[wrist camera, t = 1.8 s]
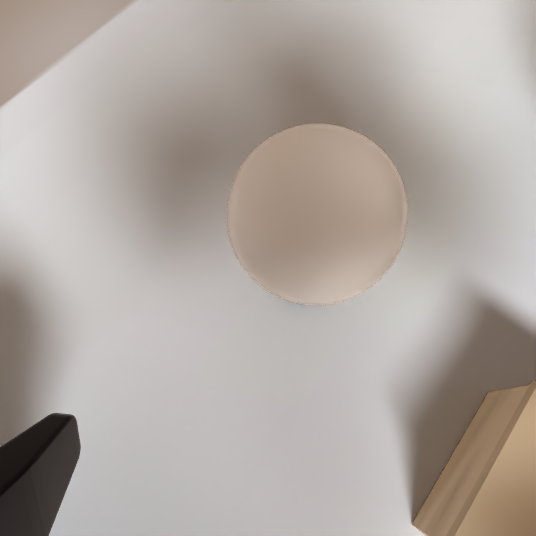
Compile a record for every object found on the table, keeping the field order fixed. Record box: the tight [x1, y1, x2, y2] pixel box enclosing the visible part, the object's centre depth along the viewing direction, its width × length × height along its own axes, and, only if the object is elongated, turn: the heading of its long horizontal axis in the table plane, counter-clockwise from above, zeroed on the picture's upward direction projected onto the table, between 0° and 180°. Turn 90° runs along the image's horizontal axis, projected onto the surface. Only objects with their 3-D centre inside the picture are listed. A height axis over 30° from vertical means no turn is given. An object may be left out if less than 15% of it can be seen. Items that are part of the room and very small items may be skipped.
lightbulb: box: [226, 123, 408, 305], centre depth 18 cm, size 6×6×11 cm
